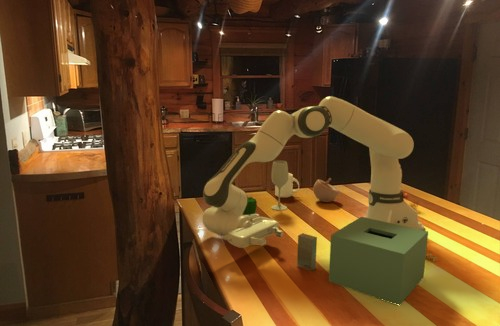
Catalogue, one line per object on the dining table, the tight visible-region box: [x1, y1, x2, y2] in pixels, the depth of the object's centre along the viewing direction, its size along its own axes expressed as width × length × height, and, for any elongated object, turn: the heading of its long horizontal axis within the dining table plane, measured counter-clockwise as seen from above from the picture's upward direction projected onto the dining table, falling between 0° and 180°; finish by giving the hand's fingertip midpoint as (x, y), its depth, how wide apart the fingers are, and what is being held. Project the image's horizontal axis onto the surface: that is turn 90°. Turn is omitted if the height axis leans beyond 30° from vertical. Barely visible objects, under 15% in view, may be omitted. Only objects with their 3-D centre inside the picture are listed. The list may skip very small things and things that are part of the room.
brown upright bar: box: [296, 232, 318, 272], centre depth 122 cm, size 5×2×10 cm, turn 51°
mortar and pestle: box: [312, 177, 340, 203], centre depth 190 cm, size 12×12×12 cm
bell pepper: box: [243, 196, 258, 215], centre depth 168 cm, size 8×8×10 cm
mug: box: [274, 172, 300, 199], centre depth 199 cm, size 9×12×11 cm
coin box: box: [328, 216, 429, 306], centre depth 114 cm, size 20×20×14 cm
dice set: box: [426, 253, 437, 262], centre depth 130 cm, size 5×5×2 cm
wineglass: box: [270, 160, 289, 211], centre depth 179 cm, size 8×8×21 cm
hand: (273, 238), depth 129 cm, fingers open, 8 cm apart
